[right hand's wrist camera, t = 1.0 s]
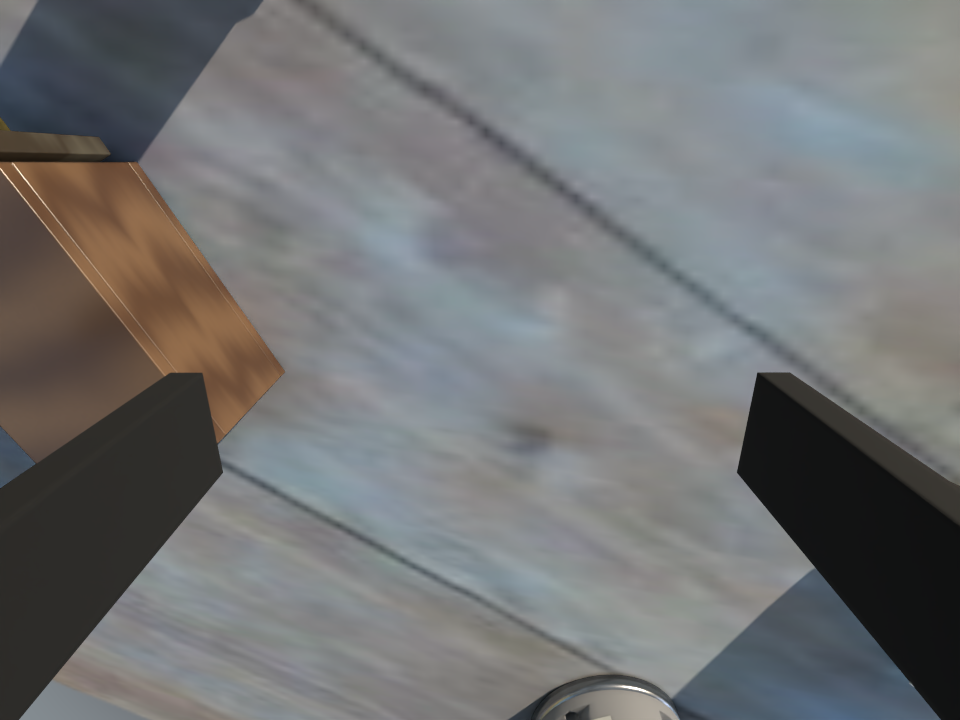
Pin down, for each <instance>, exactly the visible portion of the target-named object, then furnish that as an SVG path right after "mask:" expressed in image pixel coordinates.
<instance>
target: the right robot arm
mask: <svg viewBox="0 0 960 720" xmlns="http://www.w3.org/2000/svg"><path fill="white" fill-rule="evenodd" d="M222 473H223V470H222V465H221V460H220V456H219V451H218V446H217V441H216V436H215V431H214V426H213V421H212V416H211V412H210V407H209V402H208V397H207V392H206V387H205V382H204V377H203V373H169V374H167V375H166V376H164V377H163V378H161V379H160V380H159V381H157V382H156V383H154V384H153V385H151V386H150V387H148V388H147V389H145V390H144V391H142V392H141V393H139V394H138V395H137V396H135V397H134V398H132V399H131V400H129V401H128V402H126V403H125V404H123V405H122V406H120V407H119V408H117V409H116V410H115V411H113V412H112V413H110V414H109V415H107V416H106V417H104V418H103V419H101V420H100V421H98V422H97V423H95V424H94V425H93V426H91V427H90V428H88V429H87V430H85V431H84V432H82V433H81V434H79V435H78V436H76V437H75V438H73V439H72V440H70V441H69V442H68V443H66V444H65V445H63V446H62V447H60V448H59V449H57V450H56V451H54V452H53V453H51V454H50V455H48V456H47V457H46V458H44V459H43V460H41V461H40V462H38V463H37V464H35V465H34V466H32V467H31V468H29V469H28V470H26V471H25V472H24V473H22V474H21V475H19V476H18V477H16V478H15V479H13V480H12V481H10V482H9V483H7V484H6V485H4V486H3V487H2V488H0V720H19V719H20V718H21V716H22V715H23V714H24V713H25V712H26V710H27V709H28V708H29V707H30V706H31V704H32V703H33V702H34V701H35V700H36V698H37V697H38V696H39V695H40V693H41V692H42V691H43V690H44V689H45V687H46V686H47V685H48V684H49V683H50V681H51V680H52V679H53V678H54V677H55V675H56V674H57V673H58V672H59V670H60V669H61V668H62V667H63V666H64V664H65V663H66V662H67V661H68V660H69V658H70V657H71V656H72V655H73V654H74V652H75V651H76V650H77V649H78V647H79V646H80V645H81V644H82V643H83V641H84V640H85V639H86V638H87V637H88V635H89V634H90V633H91V632H92V631H93V629H94V628H95V627H96V626H97V624H98V623H99V622H100V621H101V620H102V618H103V617H104V616H105V615H106V614H107V612H108V611H109V610H110V609H111V608H112V606H113V605H114V604H115V603H116V601H117V600H118V599H119V598H120V597H121V595H122V594H123V593H124V592H125V591H126V589H127V588H128V587H129V586H130V585H131V583H132V582H133V581H134V580H135V578H136V577H137V576H138V575H139V574H140V572H141V571H142V570H143V569H144V568H145V566H146V565H147V564H148V563H149V562H150V560H151V559H152V558H153V557H154V555H155V554H156V553H157V552H158V551H159V549H160V548H161V547H162V546H163V545H164V543H165V542H166V541H167V540H168V539H169V537H170V536H171V535H172V534H173V532H174V531H175V530H176V529H177V528H178V526H179V525H180V524H181V523H182V522H183V520H184V519H185V518H186V517H187V516H188V514H189V513H190V512H191V511H192V509H193V508H194V507H195V506H196V505H197V503H198V502H199V501H200V500H201V499H202V497H203V496H204V495H205V494H206V493H207V491H208V490H209V489H210V488H211V486H212V485H213V484H214V483H215V482H216V480H217V479H218V478H219V477H220V476H221V474H222ZM737 473H738V474H739V476H740V477H741V478H742V479H743V480H744V482H745V483H746V484H747V485H748V486H749V488H750V489H751V490H752V491H753V493H754V494H755V495H756V496H757V497H758V499H759V500H760V501H761V502H762V503H763V505H764V506H765V507H766V508H767V509H768V511H769V512H770V513H771V514H772V516H773V517H774V518H775V519H776V520H777V522H778V523H779V524H780V525H781V526H782V528H783V529H784V530H785V531H786V532H787V534H788V535H789V536H790V537H791V539H792V540H793V541H794V542H795V543H796V545H797V546H798V547H799V548H800V549H801V551H802V552H803V553H804V554H805V555H806V557H807V558H808V559H809V560H810V562H811V563H812V564H813V565H814V566H815V568H816V569H817V570H818V571H819V572H820V574H821V575H822V576H823V577H824V578H825V580H826V581H827V582H828V583H829V585H830V586H831V587H832V588H833V589H834V591H835V592H836V593H837V594H838V595H839V597H840V598H841V599H842V600H843V601H844V603H845V604H846V605H847V606H848V608H849V609H850V610H851V611H852V612H853V614H854V615H855V616H856V617H857V618H858V620H859V621H860V622H861V623H862V624H863V626H864V627H865V628H866V629H867V631H868V632H869V633H870V634H871V635H872V637H873V638H874V639H875V640H876V641H877V643H878V644H879V645H880V646H881V647H882V649H883V650H884V651H885V652H886V654H887V655H888V656H889V657H890V658H891V660H892V661H893V662H894V663H895V664H896V666H897V667H898V668H899V669H900V670H901V672H902V673H903V674H904V675H905V677H906V678H907V679H908V680H909V681H910V683H911V684H912V685H913V686H914V687H915V689H916V690H917V691H918V692H919V693H920V695H921V696H922V697H923V698H924V700H925V701H926V702H927V703H928V704H929V706H930V707H931V708H932V709H933V710H934V712H935V713H936V714H937V715H938V716H939V718H940V719H941V720H960V486H958V485H956V484H954V483H952V482H950V481H948V480H947V479H945V478H944V477H942V476H941V475H939V474H938V473H936V472H935V471H934V470H932V469H931V468H929V467H928V466H926V465H925V464H923V463H922V462H920V461H919V460H917V459H916V458H914V457H913V456H912V455H910V454H909V453H907V452H906V451H904V450H903V449H901V448H900V447H898V446H897V445H895V444H894V443H892V442H891V441H889V440H888V439H887V438H885V437H884V436H882V435H881V434H879V433H878V432H876V431H875V430H873V429H872V428H870V427H869V426H867V425H866V424H865V423H863V422H862V421H860V420H859V419H857V418H856V417H854V416H853V415H851V414H850V413H848V412H847V411H845V410H844V409H843V408H841V407H840V406H838V405H837V404H835V403H834V402H832V401H831V400H829V399H828V398H826V397H825V396H823V395H822V394H821V393H819V392H818V391H816V390H815V389H813V388H812V387H810V386H809V385H807V384H806V383H804V382H803V381H801V380H800V379H799V378H797V377H796V376H794V375H793V374H791V373H757V377H756V382H755V387H754V392H753V397H752V402H751V407H750V412H749V416H748V421H747V426H746V431H745V436H744V441H743V446H742V451H741V456H740V460H739V465H738V470H737ZM531 720H680V718H679V715H678V712H677V709H676V707H675V705H674V703H673V702H672V700H671V699H670V698H669V696H668V695H667V694H666V693H665V692H663V691H662V690H661V689H659V688H658V687H656V686H655V685H653V684H651V683H649V682H646V681H644V680H641V679H638V678H634V677H629V676H623V675H598V676H591V677H586V678H582V679H579V680H575V681H573V682H570V683H568V684H566V685H564V686H562V687H560V688H558V689H556V690H555V691H553V692H552V693H551V694H549V695H548V696H547V697H546V698H545V699H544V700H543V701H542V702H541V703H540V704H539V706H538V707H537V708H536V710H535V712H534V714H533V716H532V719H531Z"/></svg>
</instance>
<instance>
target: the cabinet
mask: <svg viewBox="0 0 960 720" xmlns="http://www.w3.org/2000/svg"><path fill="white" fill-rule="evenodd" d="M169 373H203V377H204V382H205V387H206V392H207V397H208V402H209V407H210V412H211V416H212V421H213V426H214V431H215V436H216V441H217V444H218V443H219V442H220V441H221V440H222V439H223V438H224V436H225V435H226V434H227V433H228V432H229V431H230V430H231V429H232V428H233V427H234V426H235V425H236V424H237V423H238V421H239V420H240V419H241V418H242V417H243V416H244V415H245V414H246V413H247V412H248V411H249V410H250V409H251V408H252V407H253V405H254V404H255V403H256V402H257V401H258V400H259V399H260V398H261V397H262V396H263V395H264V394H265V393H266V392H267V390H268V389H269V388H270V387H271V386H272V385H273V384H274V383H275V382H276V381H277V380H278V379H279V378H280V377H281V376H282V375H283V374H284V373H285V371H284V370H283V368H282V367H281V365H280V364H279V363H278V361H277V360H276V358H275V357H274V356H273V354H272V353H271V351H270V350H269V348H268V347H267V346H266V344H265V343H264V341H263V340H262V339H261V337H260V336H259V334H258V333H257V331H256V330H255V329H254V327H253V326H252V324H251V323H250V322H249V320H248V319H247V317H246V316H245V314H244V313H243V312H242V310H241V309H240V307H239V306H238V305H237V303H236V302H235V300H234V299H233V298H232V296H231V295H230V293H229V292H228V290H227V289H226V288H225V286H224V285H223V283H222V282H221V281H220V279H219V278H218V276H217V275H216V273H215V272H214V271H213V269H212V268H211V266H210V265H209V264H208V262H207V261H206V259H205V258H204V256H203V255H202V254H201V252H200V251H199V249H198V248H197V247H196V245H195V244H194V242H193V241H192V239H191V238H190V237H189V235H188V234H187V232H186V231H185V230H184V228H183V227H182V225H181V224H180V222H179V221H178V220H177V218H176V217H175V215H174V214H173V213H172V211H171V210H170V208H169V207H168V205H167V204H166V203H165V201H164V200H163V198H162V197H161V196H160V194H159V193H158V191H157V190H156V188H155V187H154V186H153V184H152V183H151V181H150V180H149V179H148V177H147V176H146V174H145V173H144V171H143V170H142V169H141V167H140V166H139V164H138V163H137V162H0V426H1V427H2V428H3V429H4V430H5V431H6V432H7V434H8V435H9V436H10V437H11V438H12V439H13V440H14V441H15V442H16V443H17V444H18V445H19V446H20V447H21V448H22V449H23V450H24V451H25V452H26V454H27V455H28V456H29V457H30V458H31V459H32V460H33V461H34V462H35V463H36V464H37V463H38V462H40V461H41V460H43V459H44V458H46V457H47V456H48V455H50V454H51V453H53V452H54V451H56V450H57V449H59V448H60V447H62V446H63V445H65V444H66V443H68V442H69V441H70V440H72V439H73V438H75V437H76V436H78V435H79V434H81V433H82V432H84V431H85V430H87V429H88V428H90V427H91V426H93V425H94V424H95V423H97V422H98V421H100V420H101V419H103V418H104V417H106V416H107V415H109V414H110V413H112V412H113V411H115V410H116V409H117V408H119V407H120V406H122V405H123V404H125V403H126V402H128V401H129V400H131V399H132V398H134V397H135V396H137V395H138V394H139V393H141V392H142V391H144V390H145V389H147V388H148V387H150V386H151V385H153V384H154V383H156V382H157V381H159V380H160V379H161V378H163V377H164V376H166V375H167V374H169Z"/></svg>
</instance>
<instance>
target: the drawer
mask: <svg viewBox="0 0 960 720" xmlns="http://www.w3.org/2000/svg"><path fill="white" fill-rule="evenodd" d="M110 154H111V153H110V152H109V150H108V149H107V148H106V146H105V145H104V143H103V142H102V141H101V139H100V138H99V137H92V136H77V135H63V134H48V133H33V132H19V131H10V129H9V128H8V127H7V125H6V124H5V123H4V121H3V120H2V119H1V118H0V162H100V161H102V160H103V159H105V158H106V157H108V156H109V155H110Z"/></svg>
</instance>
